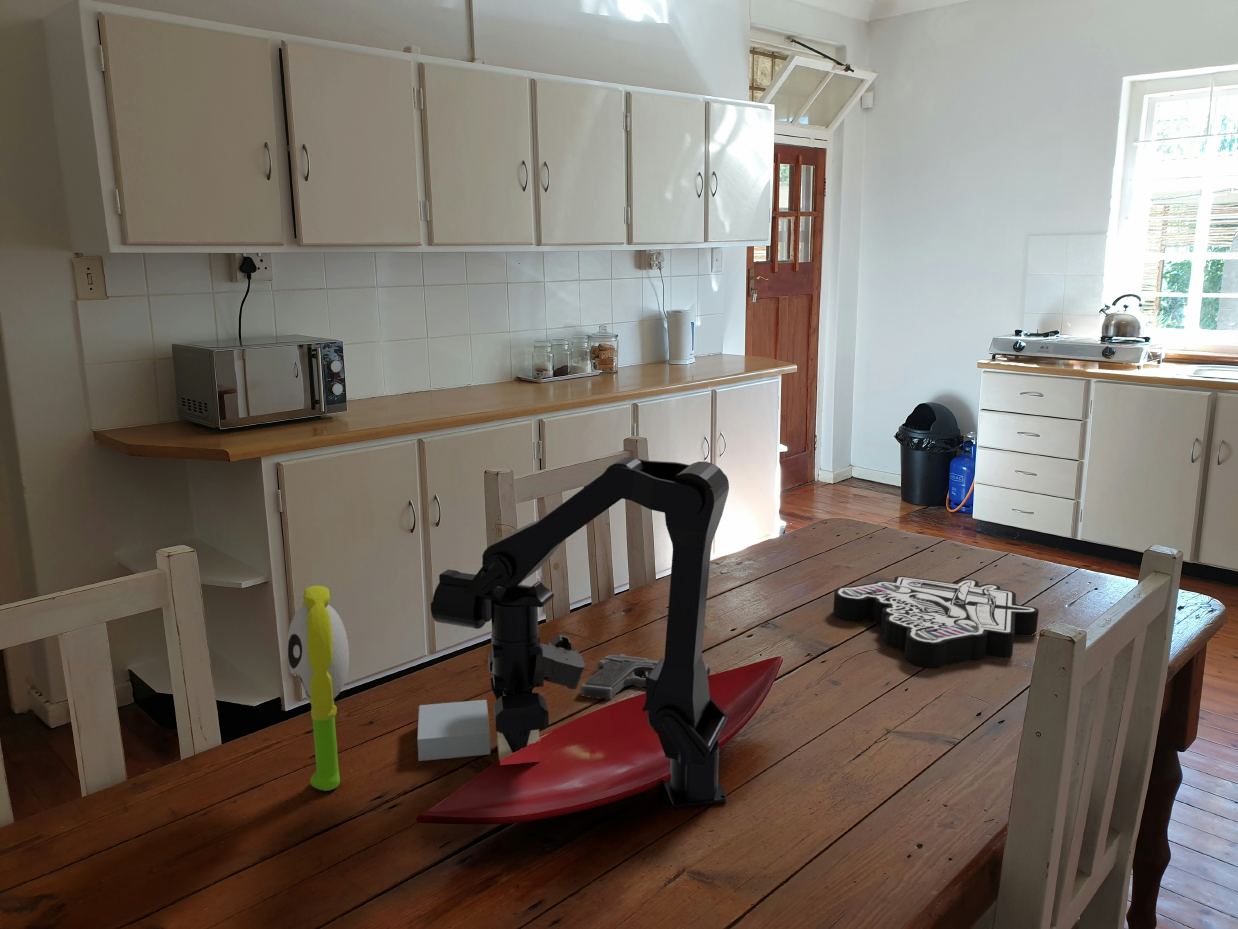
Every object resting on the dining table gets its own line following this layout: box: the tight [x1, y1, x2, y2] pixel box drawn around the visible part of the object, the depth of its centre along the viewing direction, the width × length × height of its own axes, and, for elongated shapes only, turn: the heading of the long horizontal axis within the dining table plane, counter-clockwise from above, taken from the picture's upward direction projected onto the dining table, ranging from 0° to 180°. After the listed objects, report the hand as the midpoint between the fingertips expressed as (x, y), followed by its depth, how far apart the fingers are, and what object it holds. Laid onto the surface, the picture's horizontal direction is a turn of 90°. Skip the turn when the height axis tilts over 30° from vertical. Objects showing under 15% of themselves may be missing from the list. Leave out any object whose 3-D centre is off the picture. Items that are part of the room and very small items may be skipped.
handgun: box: [579, 653, 711, 700], centre depth 137 cm, size 2×17×12 cm
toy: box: [286, 585, 350, 792], centre depth 108 cm, size 15×7×25 cm, turn 21°
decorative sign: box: [832, 575, 1040, 670], centre depth 158 cm, size 28×4×30 cm
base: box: [417, 699, 491, 762], centre depth 121 cm, size 9×9×3 cm
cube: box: [496, 730, 540, 761], centre depth 118 cm, size 5×5×5 cm
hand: (518, 746), depth 118 cm, fingers closed on cube, 5 cm apart
